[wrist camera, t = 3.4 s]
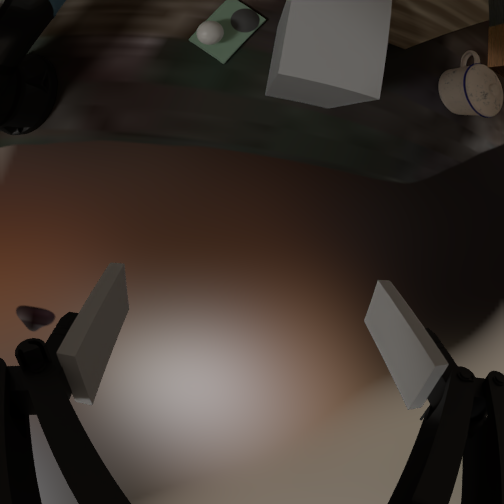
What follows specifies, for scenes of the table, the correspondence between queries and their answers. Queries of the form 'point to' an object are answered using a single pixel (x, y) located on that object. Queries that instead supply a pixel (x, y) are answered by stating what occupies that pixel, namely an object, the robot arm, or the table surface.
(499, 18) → the brown bar
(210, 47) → the green mat
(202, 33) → the ball
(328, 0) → the block
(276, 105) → the table surface
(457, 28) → the wood grain block
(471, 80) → the teacup with lid
